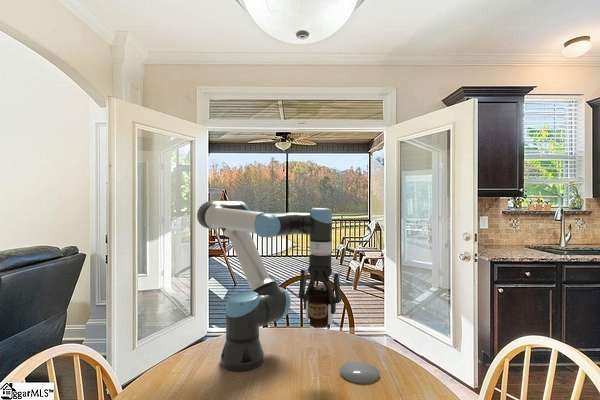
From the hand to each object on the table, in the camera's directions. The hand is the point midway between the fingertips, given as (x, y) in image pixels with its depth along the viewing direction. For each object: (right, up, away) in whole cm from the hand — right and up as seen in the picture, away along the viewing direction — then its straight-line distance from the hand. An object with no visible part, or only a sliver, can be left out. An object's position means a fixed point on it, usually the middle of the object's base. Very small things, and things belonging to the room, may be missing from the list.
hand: (319, 320), depth 119 cm
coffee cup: (0, -2, 0) cm, 2 cm away
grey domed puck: (+13, -17, -3) cm, 21 cm away
